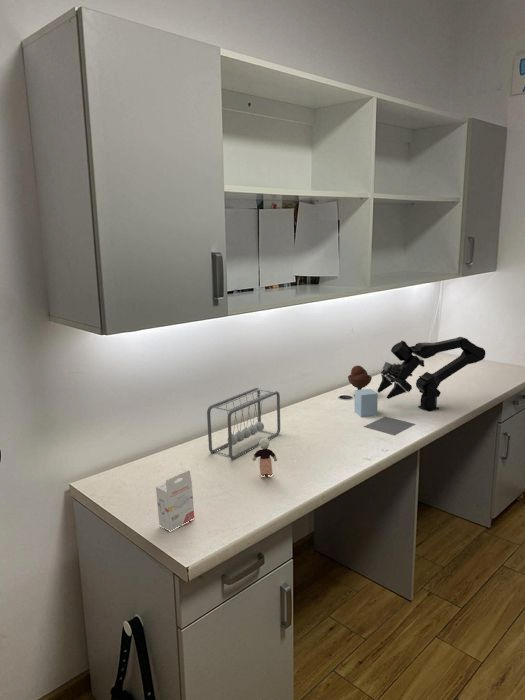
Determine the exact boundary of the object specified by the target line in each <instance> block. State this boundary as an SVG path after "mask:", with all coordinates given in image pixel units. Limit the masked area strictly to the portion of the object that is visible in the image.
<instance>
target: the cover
mask: <svg viewBox="0 0 525 700" xmlns="http://www.w3.org/2000/svg"><path fill="white" fill-rule="evenodd" d="M354 394H355V397H354V414H357V416H359V417H360V418H367V417H369V418H370V417H377V416H378V402H379V401H378V399H379V398H378V396H379V395H378V394H379V392H377V391H375V390H374V389H372V388H365V389H363V388H362V389H361V390H358V389H356V390H355V389H354Z"/></svg>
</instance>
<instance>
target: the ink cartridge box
mask: <svg viewBox="0 0 525 700" xmlns="http://www.w3.org/2000/svg"><path fill="white" fill-rule="evenodd" d="M191 475H192V474H191V470H189V469H188V470H186V471H184V472H182V473H180V474H177V475H175V476H173V477H171V478H169V479H166V481H165V482H164V483H162V484H160V485H157V486H155V490H156V491H155V492H156V502H157V503H156V504H157V513H158V514H157V515H158V525H161V526H162V527H164V528H166V529H168V530H170V531H171V530H173V529H175V528H176V527H178V526H181V525H182V524H184V523H186V522H188V521H190V520H191V519H193V518H194V519H195V511H194V510H195V508H194V496H193V494H194V492H193V481H192V476H191Z"/></svg>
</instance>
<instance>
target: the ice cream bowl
mask: <svg viewBox="0 0 525 700" xmlns="http://www.w3.org/2000/svg"><path fill="white" fill-rule="evenodd" d="M372 378H373V377H372V375H370V374H368V371H367V370H366V369H365V368H364V367H363V366H361V365H354V366H353V367H352V368H351V370H350V374H349V375H348V376H347V379H348V382H349V383H350V384H351V385H352V386H353V387H354V388H356V390H363V388H366V387H367V386H368V385H369V384H370V383H371V382H372ZM353 397H354V398H355V393H354V394H353Z"/></svg>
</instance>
